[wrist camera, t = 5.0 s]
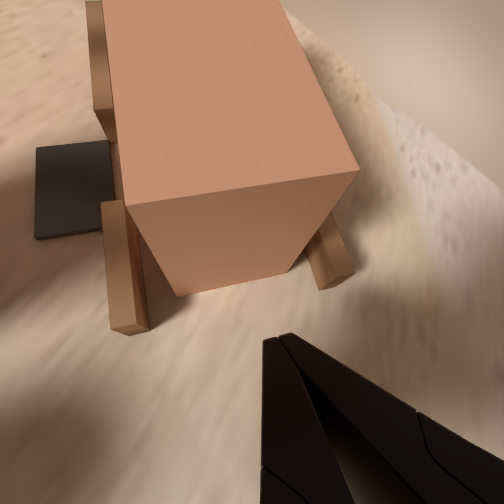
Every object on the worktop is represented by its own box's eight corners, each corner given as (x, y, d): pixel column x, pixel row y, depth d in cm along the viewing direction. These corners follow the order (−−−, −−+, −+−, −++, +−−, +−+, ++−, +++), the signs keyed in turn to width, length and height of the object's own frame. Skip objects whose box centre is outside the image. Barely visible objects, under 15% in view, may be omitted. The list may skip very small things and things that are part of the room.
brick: (285, 273, 16) (360, 169, 8) (177, 297, 15) (125, 205, 6) (226, 86, 21) (232, -97, 13) (143, 93, 20) (90, -105, 12)
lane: (397, 271, 16) (433, 252, 14) (36, 358, 13) (-14, 355, 10) (273, 4, 25) (280, -40, 23) (41, 9, 22) (15, -43, 19)
